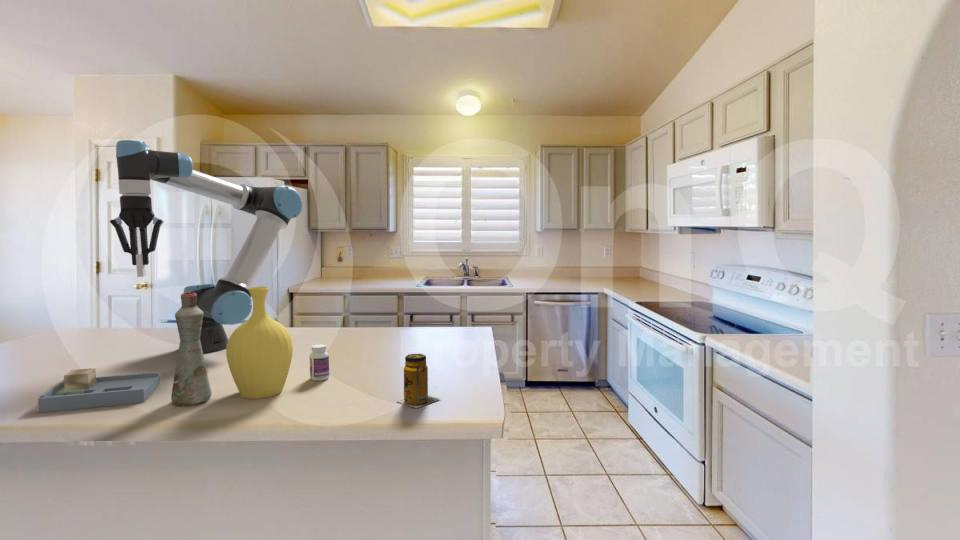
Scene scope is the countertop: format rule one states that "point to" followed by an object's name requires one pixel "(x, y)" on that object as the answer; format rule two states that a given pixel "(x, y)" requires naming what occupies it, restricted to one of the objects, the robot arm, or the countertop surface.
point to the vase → (259, 352)
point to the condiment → (416, 382)
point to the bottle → (190, 356)
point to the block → (80, 379)
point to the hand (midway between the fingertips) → (141, 276)
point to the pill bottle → (319, 363)
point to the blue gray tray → (101, 393)
